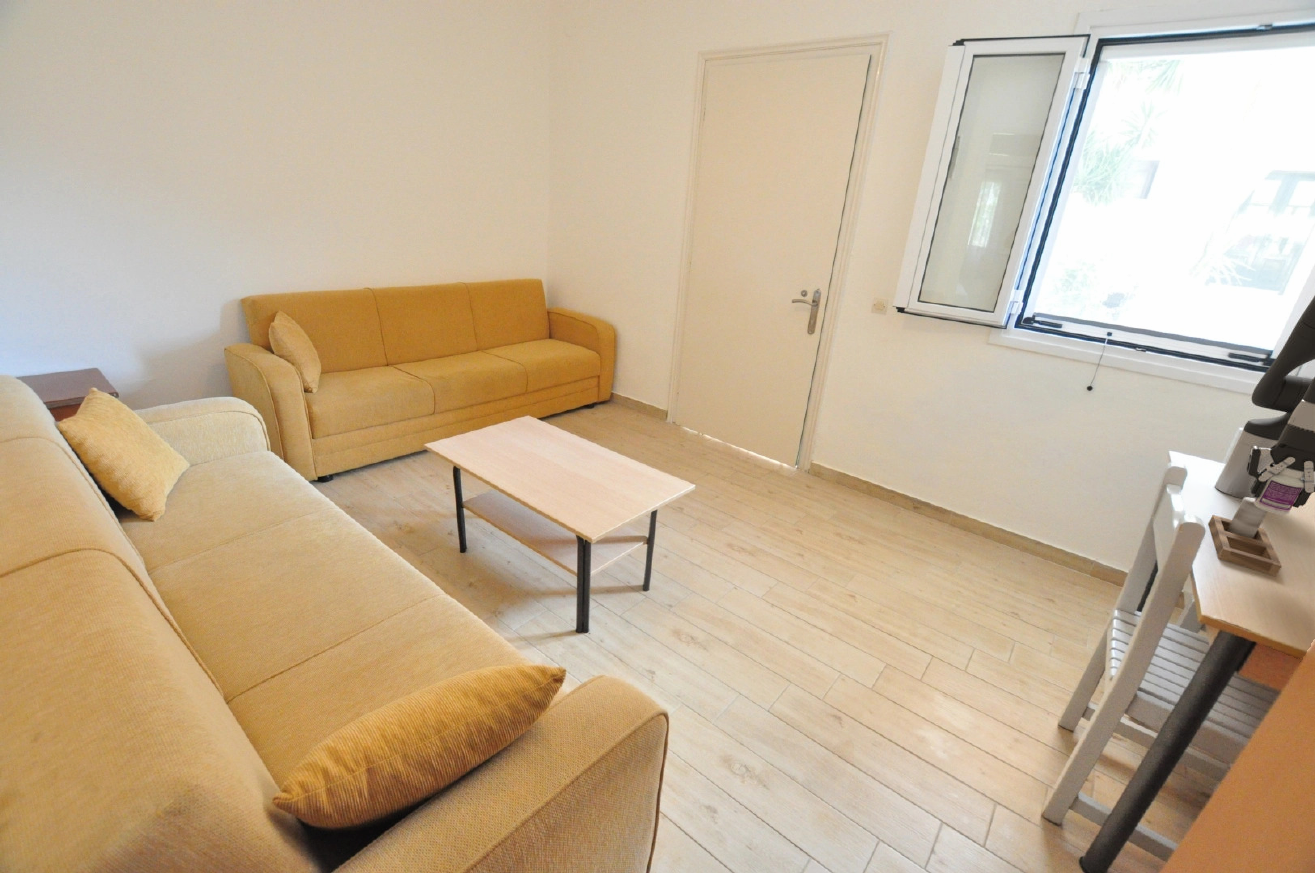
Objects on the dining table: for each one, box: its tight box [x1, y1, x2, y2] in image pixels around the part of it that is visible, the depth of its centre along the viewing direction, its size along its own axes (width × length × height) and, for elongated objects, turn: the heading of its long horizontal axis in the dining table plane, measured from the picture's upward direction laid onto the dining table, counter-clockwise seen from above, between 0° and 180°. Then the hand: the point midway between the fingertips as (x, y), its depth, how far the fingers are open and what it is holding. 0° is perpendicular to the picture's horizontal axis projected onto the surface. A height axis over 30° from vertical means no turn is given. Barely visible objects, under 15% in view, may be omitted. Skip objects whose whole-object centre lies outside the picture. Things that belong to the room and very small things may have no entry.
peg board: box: [1207, 497, 1283, 577], centre depth 125 cm, size 20×9×10 cm, turn 142°
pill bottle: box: [1254, 468, 1304, 516], centre depth 117 cm, size 5×5×10 cm
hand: (1274, 500), depth 118 cm, fingers closed on pill bottle, 5 cm apart
